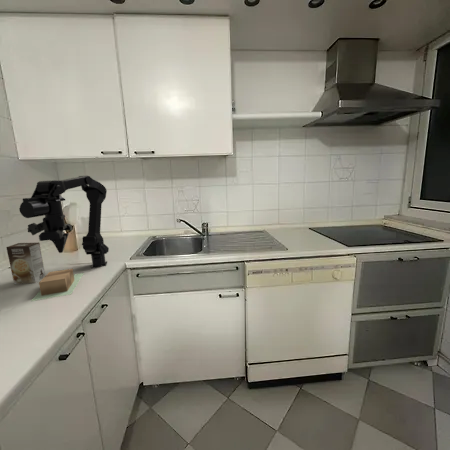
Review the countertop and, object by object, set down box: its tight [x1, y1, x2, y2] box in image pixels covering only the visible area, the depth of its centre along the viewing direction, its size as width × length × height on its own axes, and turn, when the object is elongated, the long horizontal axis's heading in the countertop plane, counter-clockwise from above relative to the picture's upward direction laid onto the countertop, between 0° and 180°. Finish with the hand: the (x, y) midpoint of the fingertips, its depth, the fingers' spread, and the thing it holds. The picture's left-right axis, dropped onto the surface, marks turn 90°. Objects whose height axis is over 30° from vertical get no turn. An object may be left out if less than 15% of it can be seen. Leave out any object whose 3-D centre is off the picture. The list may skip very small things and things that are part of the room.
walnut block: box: [38, 268, 75, 296], centre depth 91 cm, size 5×8×11 cm
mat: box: [30, 272, 85, 302], centre depth 93 cm, size 22×12×1 cm, turn 20°
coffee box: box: [5, 241, 46, 285], centre depth 98 cm, size 9×6×16 cm
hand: (61, 252), depth 94 cm, fingers closed
